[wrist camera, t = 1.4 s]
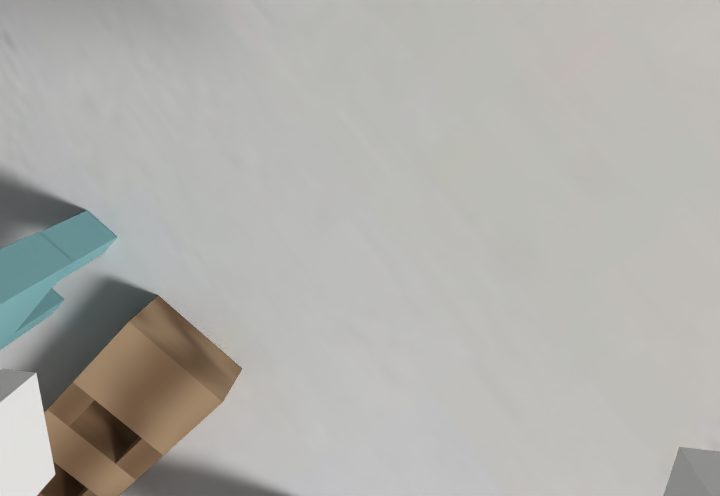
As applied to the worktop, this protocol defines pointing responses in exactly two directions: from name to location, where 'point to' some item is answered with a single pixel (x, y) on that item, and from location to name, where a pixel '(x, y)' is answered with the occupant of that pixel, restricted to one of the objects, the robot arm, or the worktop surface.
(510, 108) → the worktop surface
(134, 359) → the wooden slotted block
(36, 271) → the clip
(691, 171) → the worktop surface
